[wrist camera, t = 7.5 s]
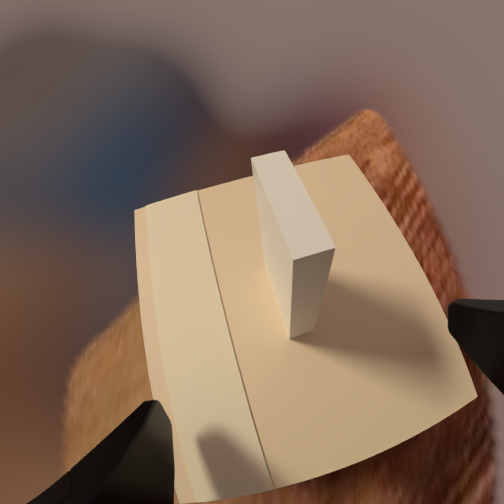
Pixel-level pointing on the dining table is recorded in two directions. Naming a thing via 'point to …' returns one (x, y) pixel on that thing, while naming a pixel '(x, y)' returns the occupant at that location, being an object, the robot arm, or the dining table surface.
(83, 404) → the dining table surface
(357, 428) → the carton lid
